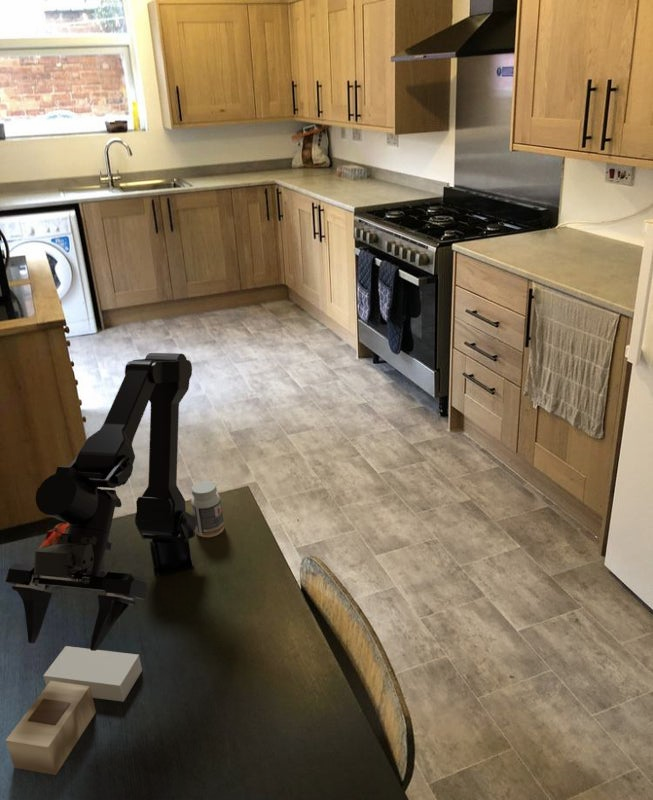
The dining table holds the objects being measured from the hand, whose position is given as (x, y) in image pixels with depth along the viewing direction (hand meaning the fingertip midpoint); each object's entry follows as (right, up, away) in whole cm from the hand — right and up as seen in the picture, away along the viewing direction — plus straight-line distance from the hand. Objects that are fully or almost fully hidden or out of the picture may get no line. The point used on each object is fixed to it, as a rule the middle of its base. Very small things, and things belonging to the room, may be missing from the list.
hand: (61, 646), depth 94 cm
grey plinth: (+2, -8, +9) cm, 12 cm away
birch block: (0, -8, +3) cm, 9 cm away
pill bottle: (+13, +7, +44) cm, 46 cm away
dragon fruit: (-12, +3, +37) cm, 39 cm away
